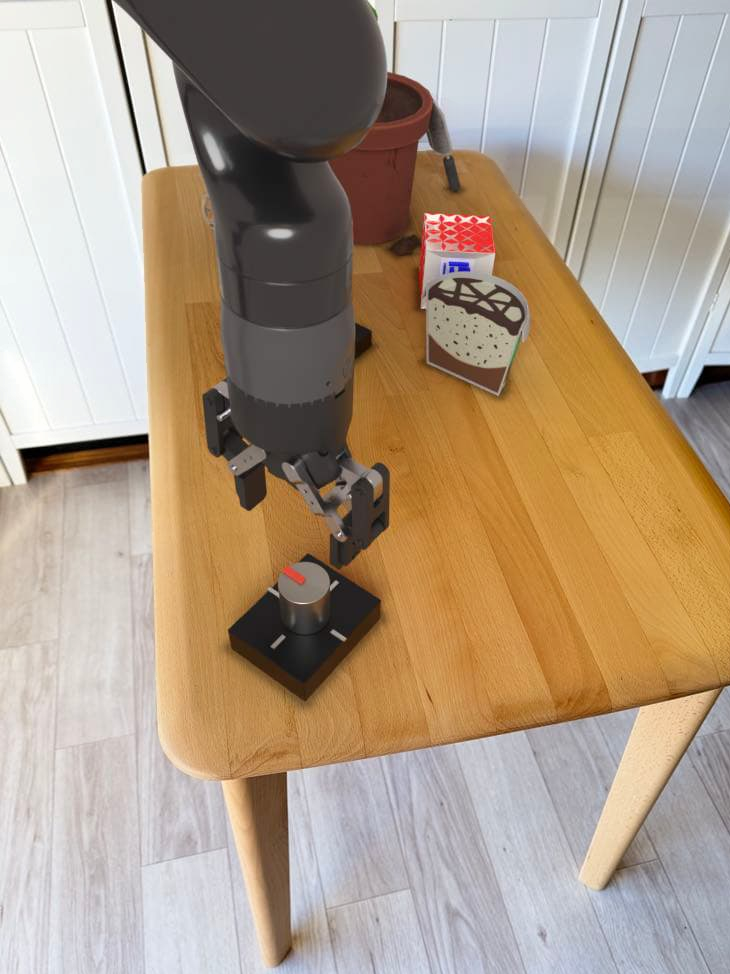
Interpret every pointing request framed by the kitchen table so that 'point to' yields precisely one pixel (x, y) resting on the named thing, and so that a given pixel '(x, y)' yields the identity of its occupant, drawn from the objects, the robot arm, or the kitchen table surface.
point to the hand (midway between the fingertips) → (297, 530)
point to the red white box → (454, 246)
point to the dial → (304, 597)
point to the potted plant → (392, 163)
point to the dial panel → (305, 656)
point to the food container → (474, 327)
